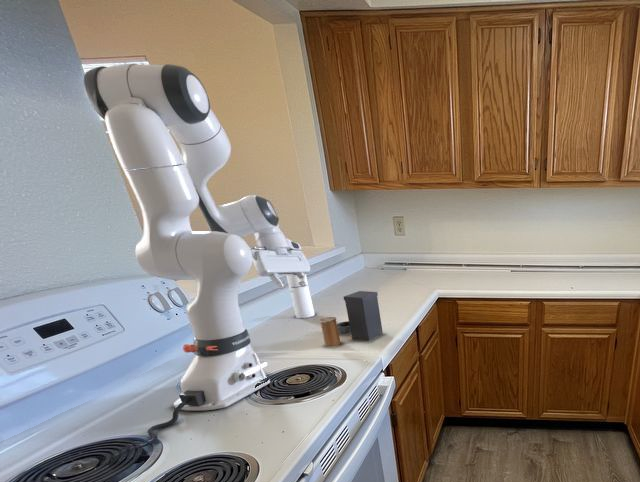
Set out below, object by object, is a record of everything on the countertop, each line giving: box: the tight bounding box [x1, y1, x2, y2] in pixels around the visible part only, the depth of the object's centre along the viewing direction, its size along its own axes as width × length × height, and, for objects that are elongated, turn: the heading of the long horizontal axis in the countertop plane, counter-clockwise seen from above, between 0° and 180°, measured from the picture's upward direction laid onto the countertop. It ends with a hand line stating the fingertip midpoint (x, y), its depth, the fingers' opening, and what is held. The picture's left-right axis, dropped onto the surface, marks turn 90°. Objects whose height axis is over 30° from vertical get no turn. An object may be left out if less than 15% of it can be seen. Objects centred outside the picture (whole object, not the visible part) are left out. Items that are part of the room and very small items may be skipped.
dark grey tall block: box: [343, 290, 384, 342], centre depth 142 cm, size 8×7×15 cm
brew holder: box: [337, 320, 351, 335], centre depth 151 cm, size 7×7×3 cm
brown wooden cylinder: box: [318, 316, 341, 347], centre depth 137 cm, size 5×5×9 cm
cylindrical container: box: [286, 274, 316, 319], centre depth 169 cm, size 7×7×25 cm
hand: (293, 287), depth 137 cm, fingers open, 8 cm apart
